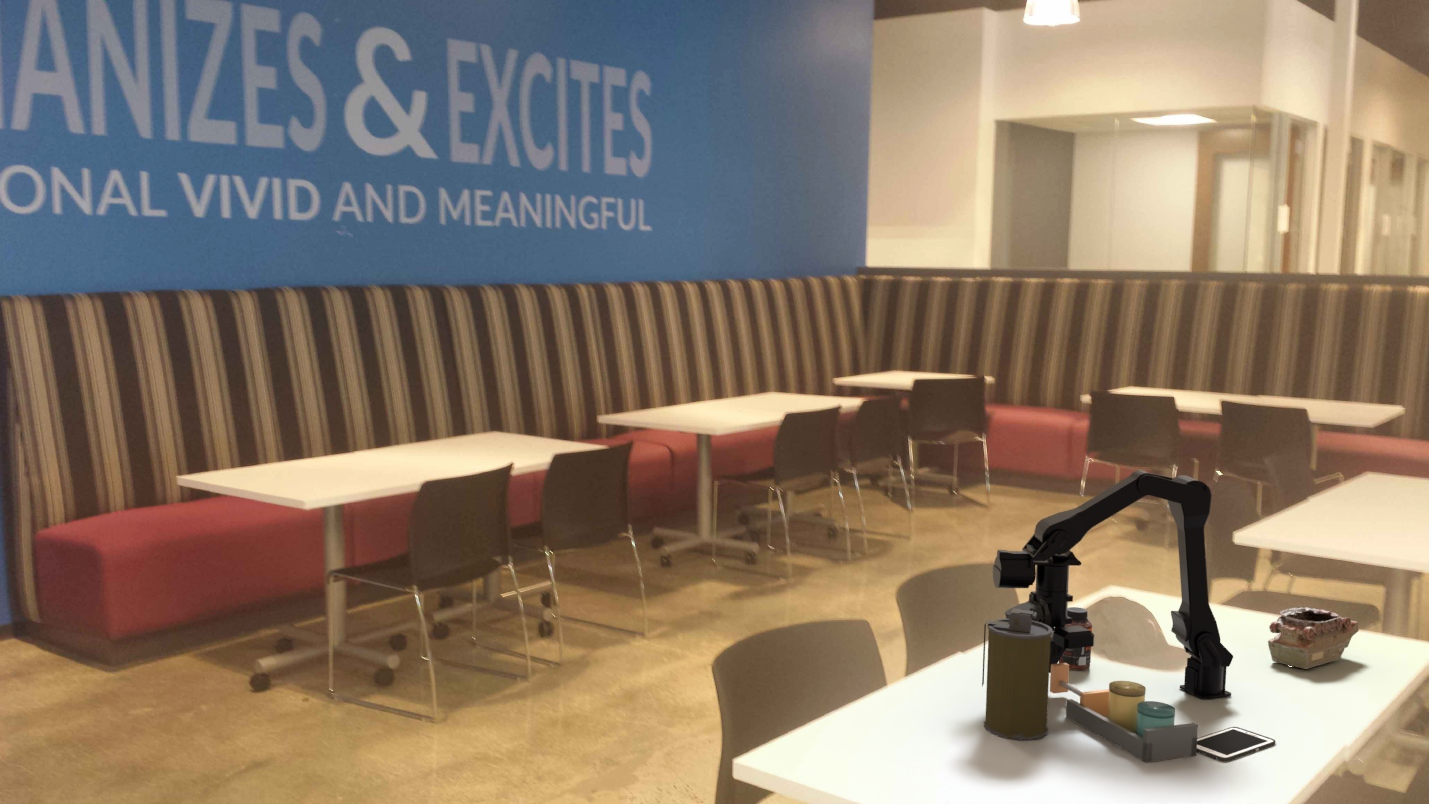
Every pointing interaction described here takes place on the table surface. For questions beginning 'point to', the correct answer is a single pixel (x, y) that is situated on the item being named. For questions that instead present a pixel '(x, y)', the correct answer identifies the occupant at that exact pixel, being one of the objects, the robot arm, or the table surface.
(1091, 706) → the pusher
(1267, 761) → the table surface
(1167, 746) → the lane
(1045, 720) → the canister
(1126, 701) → the ochre jar
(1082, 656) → the supplement bottle
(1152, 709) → the jar
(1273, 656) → the decorative box
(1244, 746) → the cell phone
